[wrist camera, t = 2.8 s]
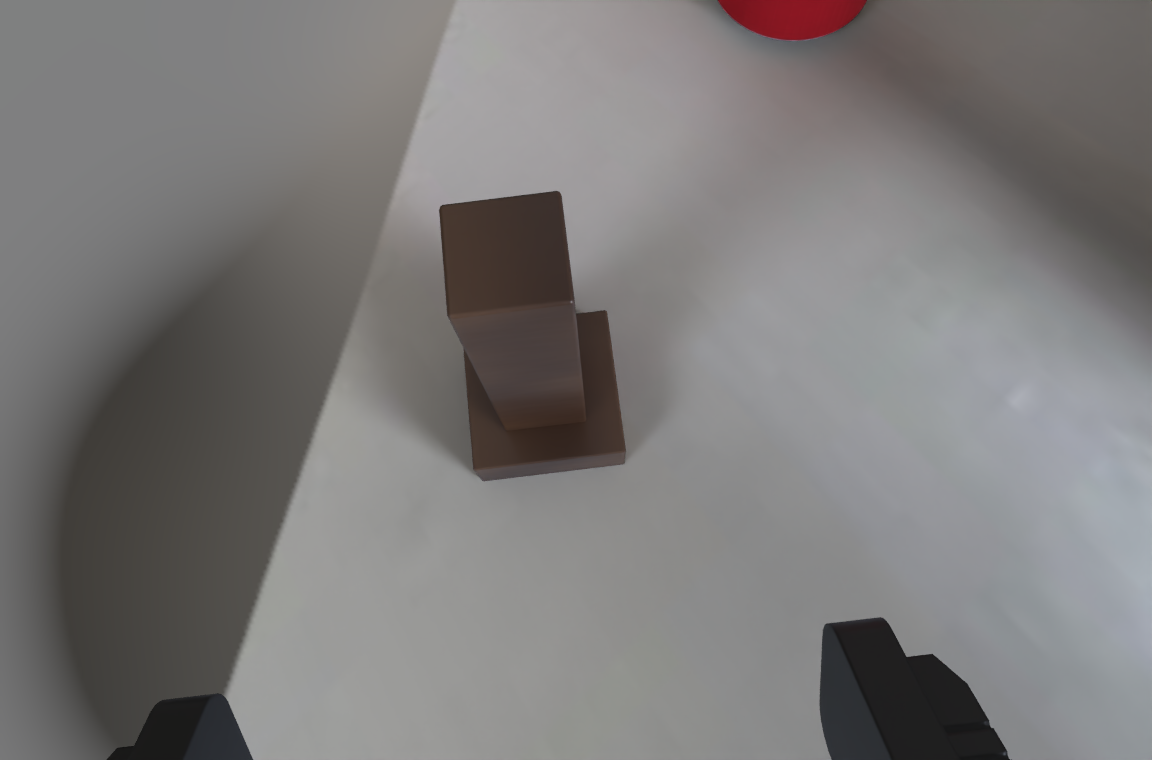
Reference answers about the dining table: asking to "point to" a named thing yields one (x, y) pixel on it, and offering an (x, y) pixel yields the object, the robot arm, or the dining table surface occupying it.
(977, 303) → the dining table surface
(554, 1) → the dining table surface
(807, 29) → the beverage can
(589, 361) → the square wall hook
